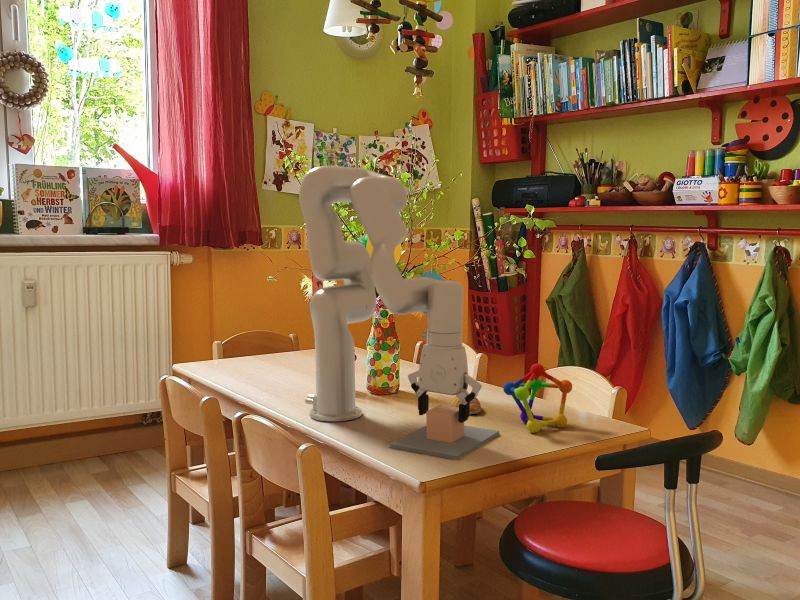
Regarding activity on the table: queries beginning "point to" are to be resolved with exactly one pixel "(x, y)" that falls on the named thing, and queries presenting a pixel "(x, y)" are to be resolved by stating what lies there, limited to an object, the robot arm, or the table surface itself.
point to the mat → (445, 443)
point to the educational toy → (522, 394)
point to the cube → (444, 424)
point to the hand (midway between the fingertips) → (443, 417)
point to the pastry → (474, 405)
